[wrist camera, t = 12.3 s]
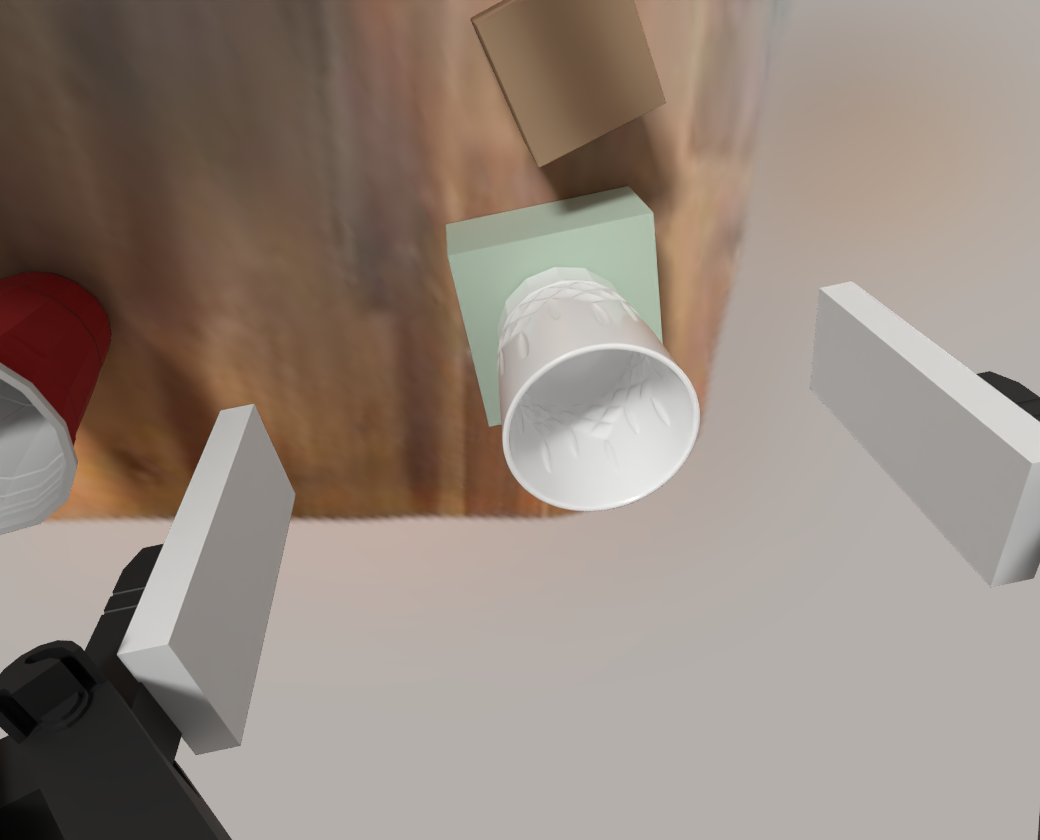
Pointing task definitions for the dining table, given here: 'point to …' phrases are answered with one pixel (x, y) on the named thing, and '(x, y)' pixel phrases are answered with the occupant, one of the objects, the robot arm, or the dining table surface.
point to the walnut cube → (569, 69)
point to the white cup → (588, 394)
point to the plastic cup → (44, 389)
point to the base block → (549, 263)
